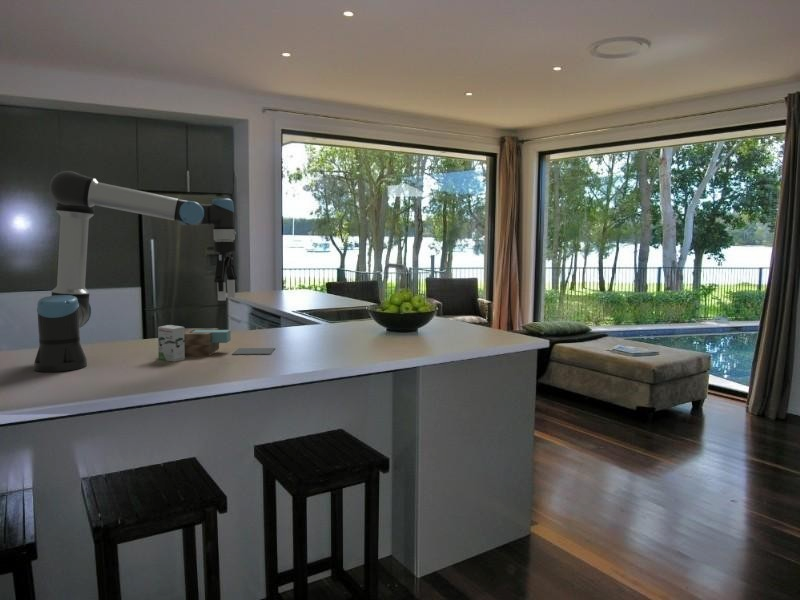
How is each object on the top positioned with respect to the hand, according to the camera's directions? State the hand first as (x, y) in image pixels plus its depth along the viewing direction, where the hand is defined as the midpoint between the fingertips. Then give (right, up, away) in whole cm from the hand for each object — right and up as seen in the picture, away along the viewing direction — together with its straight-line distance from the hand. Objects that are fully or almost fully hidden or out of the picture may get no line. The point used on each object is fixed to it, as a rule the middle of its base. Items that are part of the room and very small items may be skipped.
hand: (226, 298), depth 223 cm
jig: (-14, -20, +4) cm, 25 cm away
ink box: (-17, -22, -10) cm, 29 cm away
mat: (+9, -20, +5) cm, 23 cm away
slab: (-7, -16, +4) cm, 18 cm away
